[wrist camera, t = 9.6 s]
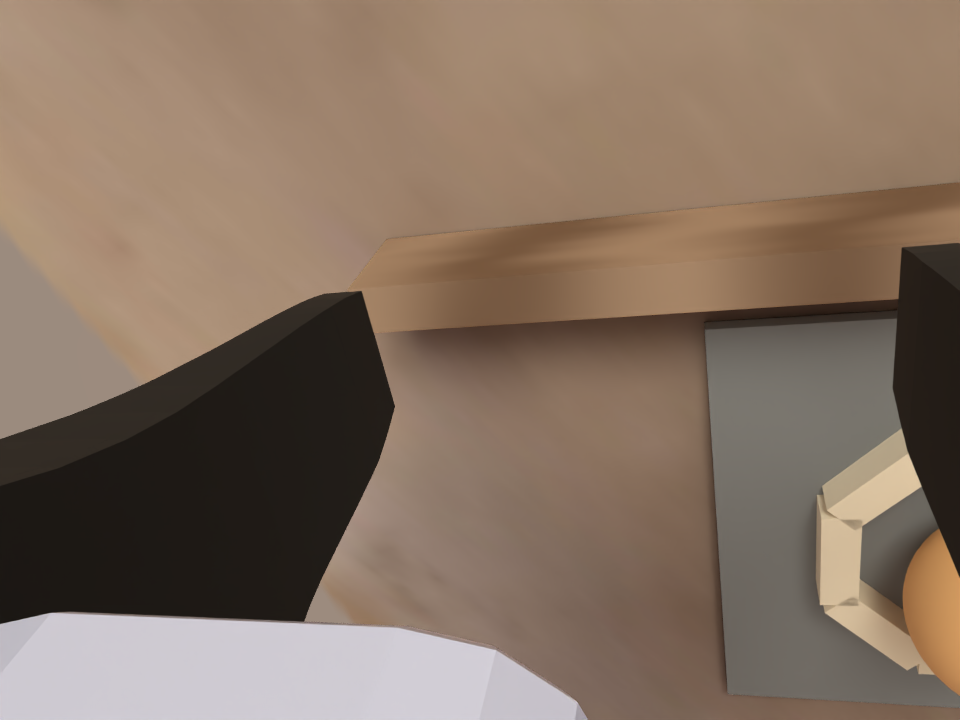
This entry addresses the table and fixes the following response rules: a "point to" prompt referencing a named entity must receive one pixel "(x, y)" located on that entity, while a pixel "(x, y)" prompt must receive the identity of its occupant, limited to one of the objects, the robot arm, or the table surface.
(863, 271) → the fence
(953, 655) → the ball
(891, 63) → the table surface
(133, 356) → the table surface
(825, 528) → the cradle
